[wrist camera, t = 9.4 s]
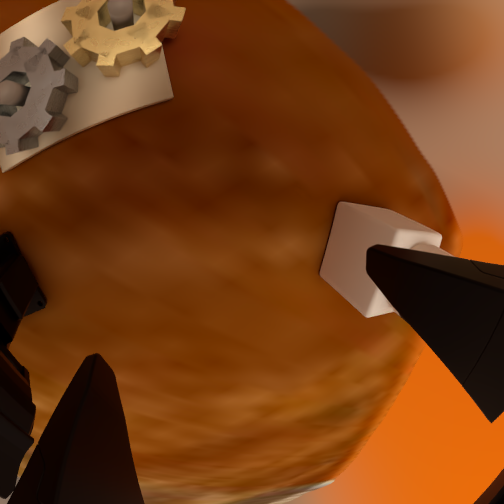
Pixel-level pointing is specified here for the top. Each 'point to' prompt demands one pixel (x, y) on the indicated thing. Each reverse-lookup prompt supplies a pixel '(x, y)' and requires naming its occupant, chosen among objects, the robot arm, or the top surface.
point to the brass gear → (120, 34)
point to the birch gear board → (83, 78)
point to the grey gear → (34, 93)
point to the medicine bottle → (356, 244)
